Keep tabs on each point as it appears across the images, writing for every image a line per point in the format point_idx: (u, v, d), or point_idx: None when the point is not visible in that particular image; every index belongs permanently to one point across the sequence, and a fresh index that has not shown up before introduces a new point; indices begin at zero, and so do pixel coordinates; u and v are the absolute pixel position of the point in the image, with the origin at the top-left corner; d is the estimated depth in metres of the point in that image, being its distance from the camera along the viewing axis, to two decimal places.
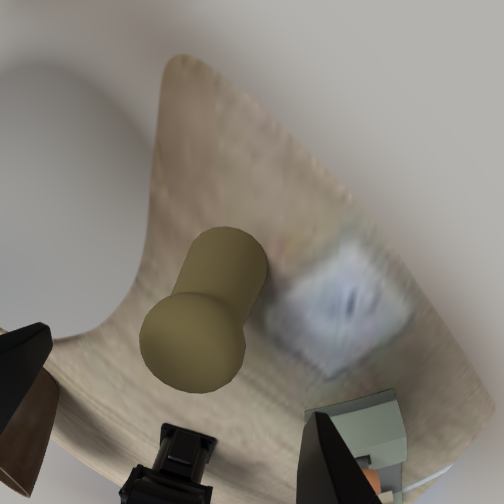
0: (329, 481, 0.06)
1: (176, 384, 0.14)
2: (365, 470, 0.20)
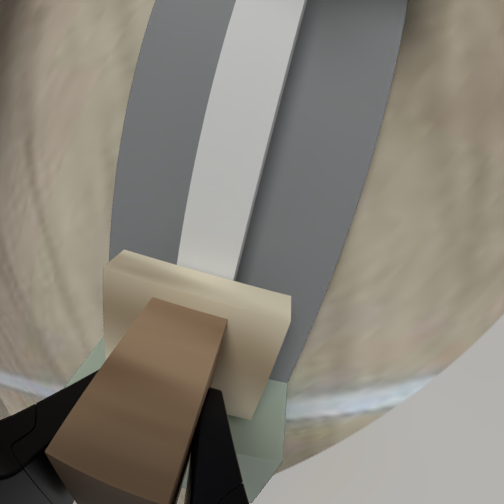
0: (194, 457, 0.06)
1: None
2: None
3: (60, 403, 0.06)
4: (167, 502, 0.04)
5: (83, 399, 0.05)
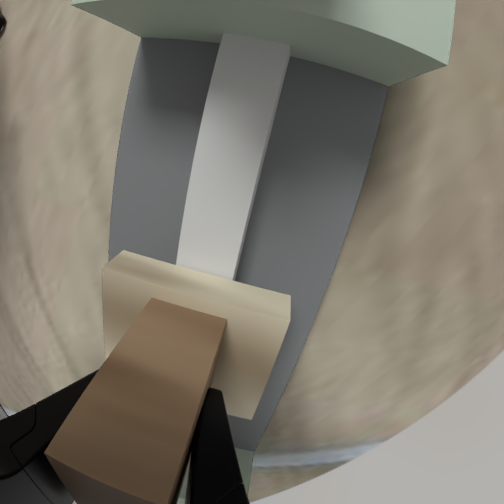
0: (194, 457, 0.06)
1: None
2: None
3: (60, 403, 0.06)
4: (166, 503, 0.04)
5: (82, 399, 0.05)
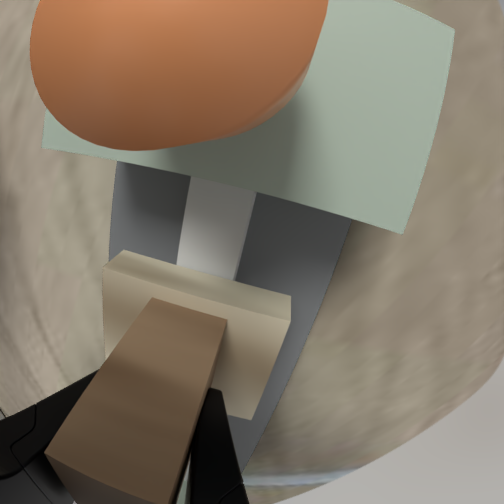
0: (194, 457, 0.06)
1: None
2: None
3: (60, 403, 0.06)
4: (167, 503, 0.04)
5: (82, 400, 0.05)
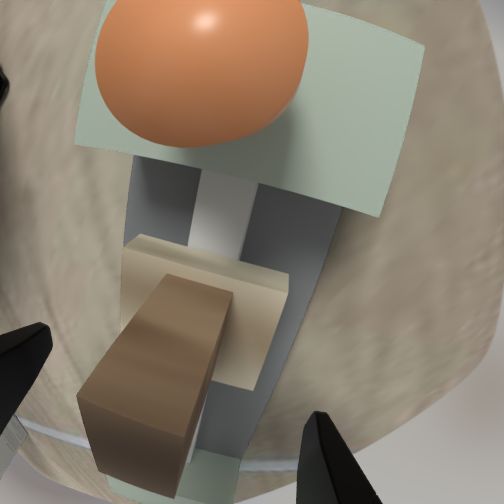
0: (329, 481, 0.06)
1: None
2: None
3: None
4: (184, 434, 0.05)
5: (110, 352, 0.07)
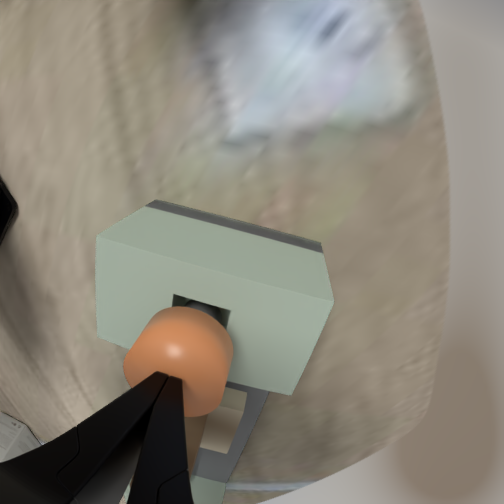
0: (143, 441, 0.06)
1: None
2: (209, 319, 0.10)
3: (102, 424, 0.06)
4: None
5: None
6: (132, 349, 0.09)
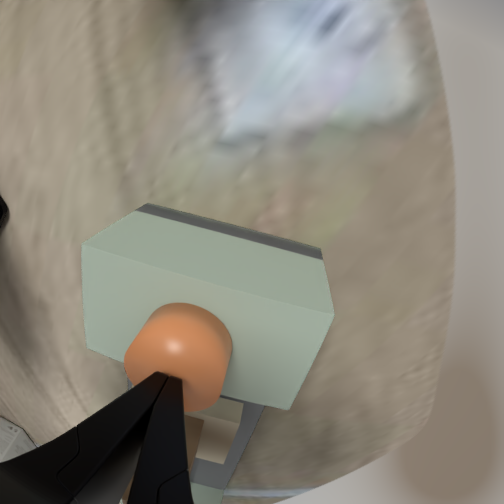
0: (143, 441, 0.06)
1: None
2: (208, 315, 0.10)
3: (103, 424, 0.06)
4: None
5: None
6: (133, 344, 0.09)
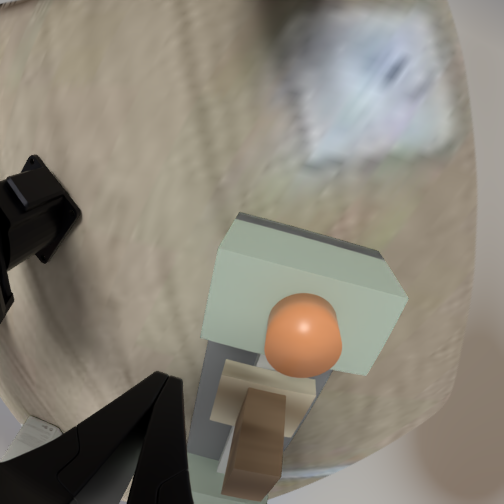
0: (143, 441, 0.06)
1: None
2: (324, 301, 0.14)
3: (103, 424, 0.06)
4: (280, 475, 0.13)
5: (240, 444, 0.14)
6: (279, 325, 0.12)
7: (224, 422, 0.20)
